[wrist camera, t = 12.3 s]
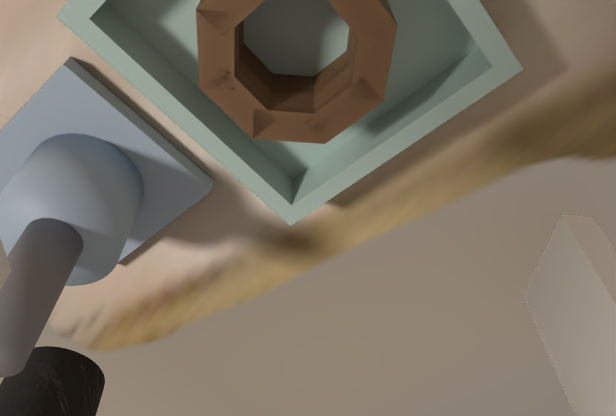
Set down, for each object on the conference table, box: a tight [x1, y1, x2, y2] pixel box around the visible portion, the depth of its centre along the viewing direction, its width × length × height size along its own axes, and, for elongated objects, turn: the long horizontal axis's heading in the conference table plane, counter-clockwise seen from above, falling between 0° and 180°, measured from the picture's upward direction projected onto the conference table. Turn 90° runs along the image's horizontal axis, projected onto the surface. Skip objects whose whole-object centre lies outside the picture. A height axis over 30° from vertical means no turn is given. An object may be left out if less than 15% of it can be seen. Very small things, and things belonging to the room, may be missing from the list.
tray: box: [55, 0, 524, 226], centre depth 25 cm, size 15×14×3 cm
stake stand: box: [0, 57, 214, 377], centre depth 27 cm, size 10×10×13 cm
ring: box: [196, 0, 397, 144], centre depth 24 cm, size 8×8×4 cm
